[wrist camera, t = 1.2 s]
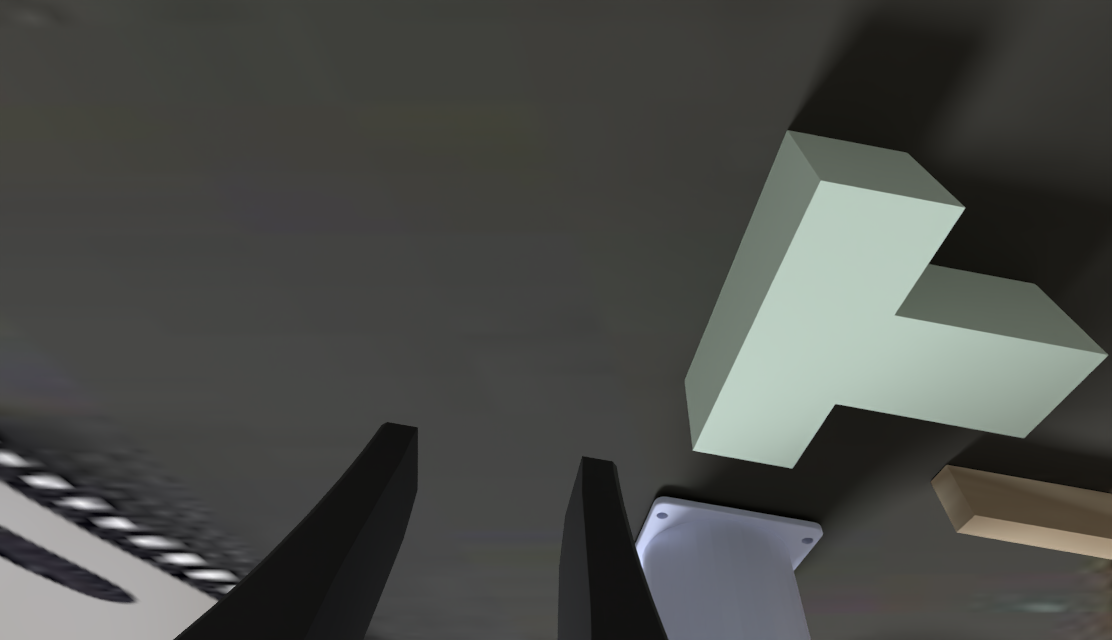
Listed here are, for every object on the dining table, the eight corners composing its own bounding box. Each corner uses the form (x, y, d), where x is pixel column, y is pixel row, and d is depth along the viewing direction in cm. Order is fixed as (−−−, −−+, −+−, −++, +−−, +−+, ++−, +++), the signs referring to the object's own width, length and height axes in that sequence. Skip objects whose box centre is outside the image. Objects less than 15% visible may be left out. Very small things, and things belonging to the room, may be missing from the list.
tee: (920, 423, 22) (961, 498, 20) (684, 380, 22) (692, 450, 19) (1111, 191, 16) (1211, 254, 13) (787, 130, 16) (820, 180, 13)
